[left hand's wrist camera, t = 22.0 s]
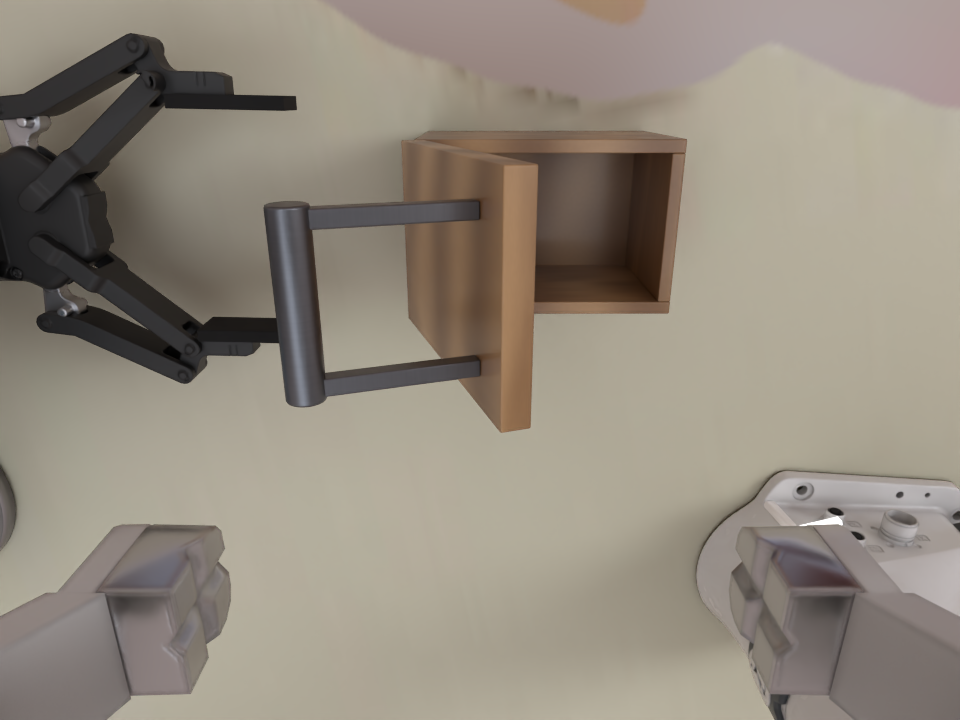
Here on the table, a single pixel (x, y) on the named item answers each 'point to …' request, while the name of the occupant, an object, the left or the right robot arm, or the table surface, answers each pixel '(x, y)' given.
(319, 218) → the lid
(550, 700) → the table surface
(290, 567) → the table surface
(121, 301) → the right robot arm
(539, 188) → the chest
